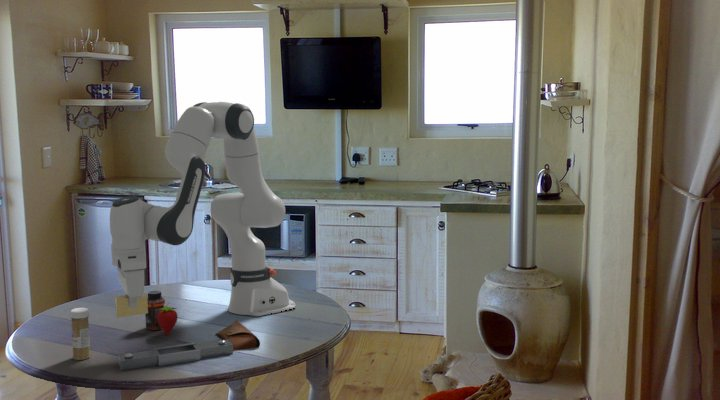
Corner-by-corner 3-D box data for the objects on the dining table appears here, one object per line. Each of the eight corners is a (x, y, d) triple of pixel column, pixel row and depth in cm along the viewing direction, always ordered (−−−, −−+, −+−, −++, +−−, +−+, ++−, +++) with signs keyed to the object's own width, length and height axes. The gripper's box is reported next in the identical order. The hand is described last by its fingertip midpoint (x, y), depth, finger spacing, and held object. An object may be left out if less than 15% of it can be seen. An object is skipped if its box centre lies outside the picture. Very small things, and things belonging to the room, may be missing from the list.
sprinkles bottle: (69, 357, 194) (67, 309, 193) (85, 353, 198) (83, 306, 196) (78, 361, 191) (75, 312, 190) (94, 357, 195) (91, 309, 193)
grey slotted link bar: (226, 346, 204) (226, 336, 203) (234, 354, 197) (233, 343, 197) (118, 363, 191) (117, 351, 190) (122, 371, 184) (121, 360, 184)
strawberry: (176, 329, 219) (175, 297, 218) (179, 337, 212) (178, 304, 211) (156, 331, 217) (155, 299, 216) (159, 339, 210) (158, 306, 209)
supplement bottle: (170, 326, 222) (168, 290, 221) (157, 331, 217) (155, 295, 215) (154, 324, 225) (153, 288, 223) (141, 329, 219) (140, 293, 218)
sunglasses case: (212, 333, 215) (222, 313, 216) (232, 341, 219) (242, 322, 219) (232, 351, 200) (243, 330, 200) (252, 360, 203) (263, 339, 204)
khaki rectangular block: (146, 310, 201) (145, 292, 200) (148, 313, 198) (147, 295, 197) (116, 314, 197) (115, 296, 197) (117, 317, 195) (116, 299, 194)
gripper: (111, 250, 203) (114, 297, 205) (122, 266, 185) (125, 318, 187) (134, 248, 206) (137, 295, 208) (147, 263, 188) (150, 314, 190)
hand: (131, 306), depth 197 cm, fingers closed on khaki rectangular block, 3 cm apart
